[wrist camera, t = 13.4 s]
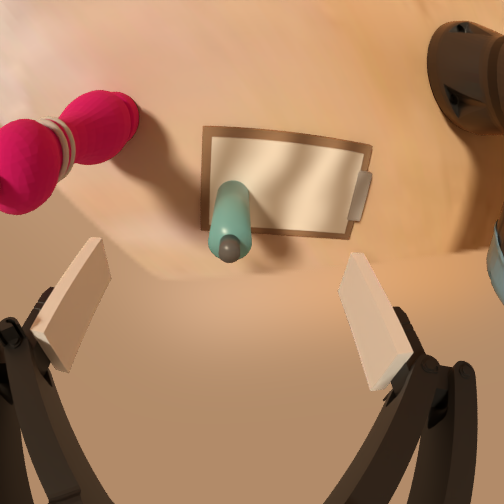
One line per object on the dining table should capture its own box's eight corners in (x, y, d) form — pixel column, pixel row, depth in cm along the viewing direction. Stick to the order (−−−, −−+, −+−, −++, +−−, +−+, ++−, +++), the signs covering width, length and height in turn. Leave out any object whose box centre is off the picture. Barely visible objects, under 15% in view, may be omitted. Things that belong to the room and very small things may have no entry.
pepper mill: (145, 148, 28) (37, 256, 11) (88, 153, 27) (-33, 252, 11) (143, 83, 24) (4, 113, 7) (83, 93, 23) (-63, 145, 7)
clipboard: (373, 145, 28) (378, 148, 27) (350, 237, 35) (353, 242, 34) (203, 125, 27) (202, 127, 26) (201, 227, 34) (200, 233, 32)
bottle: (242, 176, 29) (243, 228, 20) (253, 203, 31) (258, 264, 22) (211, 186, 30) (198, 242, 21) (223, 213, 32) (217, 277, 22)
